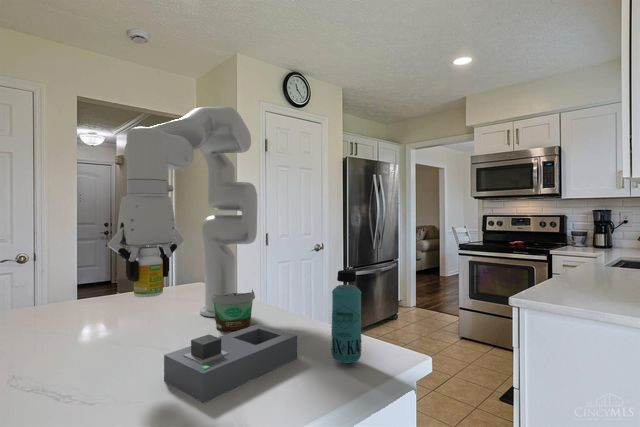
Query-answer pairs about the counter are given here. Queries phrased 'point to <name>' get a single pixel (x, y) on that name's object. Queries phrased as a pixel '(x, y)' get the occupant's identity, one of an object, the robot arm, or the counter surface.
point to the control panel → (228, 360)
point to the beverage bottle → (346, 319)
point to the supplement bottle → (149, 273)
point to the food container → (233, 311)
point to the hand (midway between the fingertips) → (148, 277)
